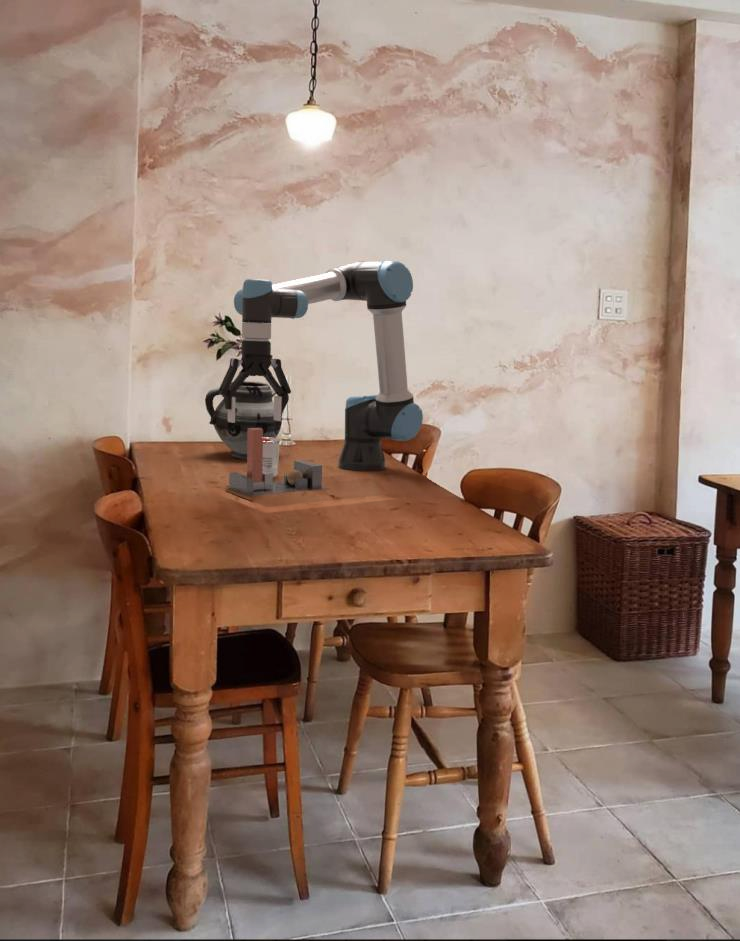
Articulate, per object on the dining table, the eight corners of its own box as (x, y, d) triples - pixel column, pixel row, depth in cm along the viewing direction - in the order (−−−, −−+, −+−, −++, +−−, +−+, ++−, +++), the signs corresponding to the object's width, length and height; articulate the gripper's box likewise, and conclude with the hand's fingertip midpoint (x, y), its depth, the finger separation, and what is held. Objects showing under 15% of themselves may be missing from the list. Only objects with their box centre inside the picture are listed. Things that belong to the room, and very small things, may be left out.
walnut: (297, 483, 257) (298, 468, 256) (306, 486, 254) (306, 470, 253) (284, 484, 255) (284, 469, 254) (292, 487, 251) (292, 471, 250)
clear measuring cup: (273, 484, 264) (274, 442, 262) (245, 481, 265) (245, 440, 263) (283, 478, 273) (284, 437, 271) (256, 476, 275) (257, 436, 273)
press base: (302, 484, 264) (302, 458, 263) (328, 493, 253) (329, 466, 251) (225, 491, 250) (225, 464, 249) (249, 501, 239) (250, 472, 238)
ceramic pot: (276, 450, 326) (277, 379, 322) (299, 460, 306) (301, 384, 302) (195, 453, 314) (196, 379, 310) (214, 464, 294) (215, 385, 289)
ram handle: (264, 485, 251) (265, 427, 249) (272, 488, 248) (273, 429, 245) (242, 487, 247) (242, 428, 245) (249, 490, 244) (250, 430, 241)
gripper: (290, 340, 251) (288, 418, 254) (205, 338, 236) (204, 421, 240) (305, 341, 244) (302, 421, 248) (218, 339, 230) (217, 424, 234)
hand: (254, 421), depth 244 cm, fingers open, 13 cm apart
